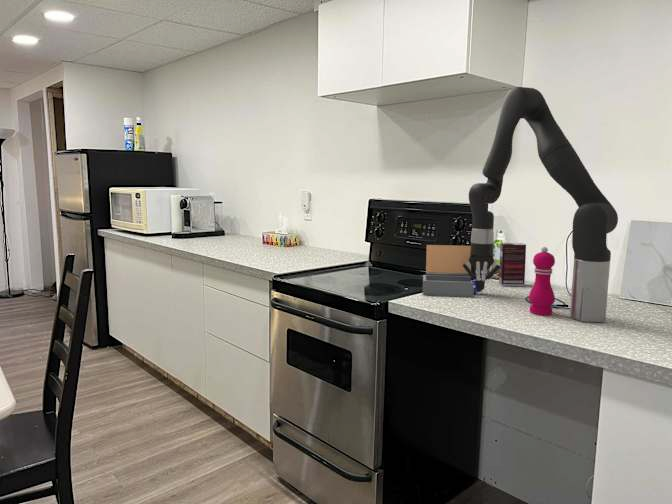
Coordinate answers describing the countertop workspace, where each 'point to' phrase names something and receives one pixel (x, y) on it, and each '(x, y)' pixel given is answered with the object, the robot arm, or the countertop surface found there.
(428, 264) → the cover
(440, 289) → the grey open box
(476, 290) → the cable holder
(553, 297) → the pepper mill
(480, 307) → the countertop surface
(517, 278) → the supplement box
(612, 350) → the countertop surface
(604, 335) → the countertop surface
